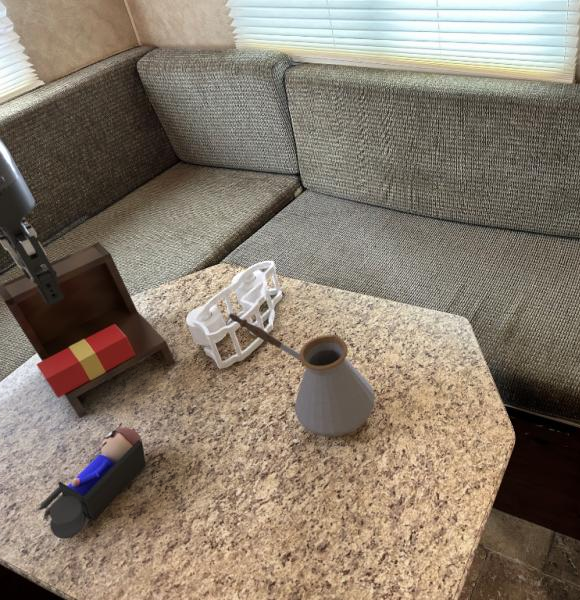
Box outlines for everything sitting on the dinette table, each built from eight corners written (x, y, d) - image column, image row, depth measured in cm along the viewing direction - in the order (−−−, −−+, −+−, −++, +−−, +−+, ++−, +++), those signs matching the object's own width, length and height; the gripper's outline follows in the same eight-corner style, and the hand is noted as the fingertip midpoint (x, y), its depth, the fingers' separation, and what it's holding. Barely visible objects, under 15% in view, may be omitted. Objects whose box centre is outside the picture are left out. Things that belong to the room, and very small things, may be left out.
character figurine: (47, 534, 77) (135, 447, 87) (83, 555, 74) (171, 461, 84) (15, 498, 73) (112, 409, 83) (52, 518, 69) (149, 423, 79)
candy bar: (58, 398, 89) (45, 379, 86) (48, 382, 91) (35, 363, 89) (135, 355, 94) (126, 336, 92) (124, 342, 97) (114, 323, 95)
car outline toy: (259, 285, 114) (250, 254, 110) (305, 301, 110) (298, 268, 105) (181, 353, 102) (167, 320, 97) (230, 373, 97) (218, 340, 92)
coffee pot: (390, 398, 90) (379, 322, 80) (352, 457, 82) (335, 381, 73) (273, 361, 98) (251, 288, 89) (229, 412, 90) (199, 338, 81)
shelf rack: (79, 418, 92) (26, 335, 81) (45, 366, 102) (-6, 287, 91) (175, 362, 100) (139, 280, 89) (135, 319, 110) (98, 241, 99)
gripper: (-64, 174, 74) (1, 280, 84) (-36, 212, 65) (33, 325, 76) (1, 152, 78) (56, 256, 88) (36, 185, 69) (92, 296, 79)
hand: (45, 288), depth 82 cm, fingers open, 8 cm apart
